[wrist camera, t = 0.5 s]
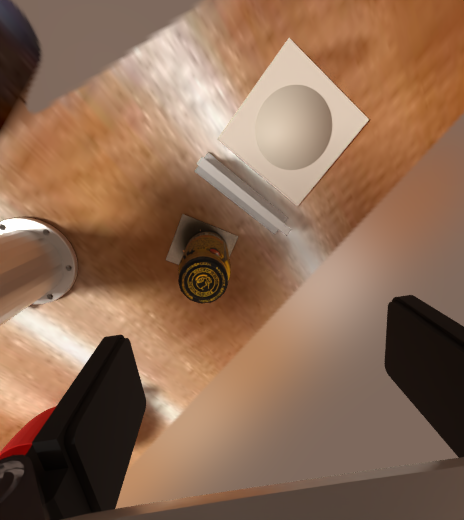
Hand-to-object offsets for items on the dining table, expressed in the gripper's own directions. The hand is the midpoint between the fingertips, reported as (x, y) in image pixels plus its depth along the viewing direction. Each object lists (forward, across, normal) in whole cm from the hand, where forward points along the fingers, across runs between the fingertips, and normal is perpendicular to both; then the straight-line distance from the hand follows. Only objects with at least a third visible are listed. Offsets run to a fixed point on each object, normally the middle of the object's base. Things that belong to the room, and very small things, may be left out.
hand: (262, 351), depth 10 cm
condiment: (+31, +4, +4) cm, 31 cm away
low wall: (+30, -2, -3) cm, 31 cm away
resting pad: (+30, -10, -10) cm, 34 cm away
